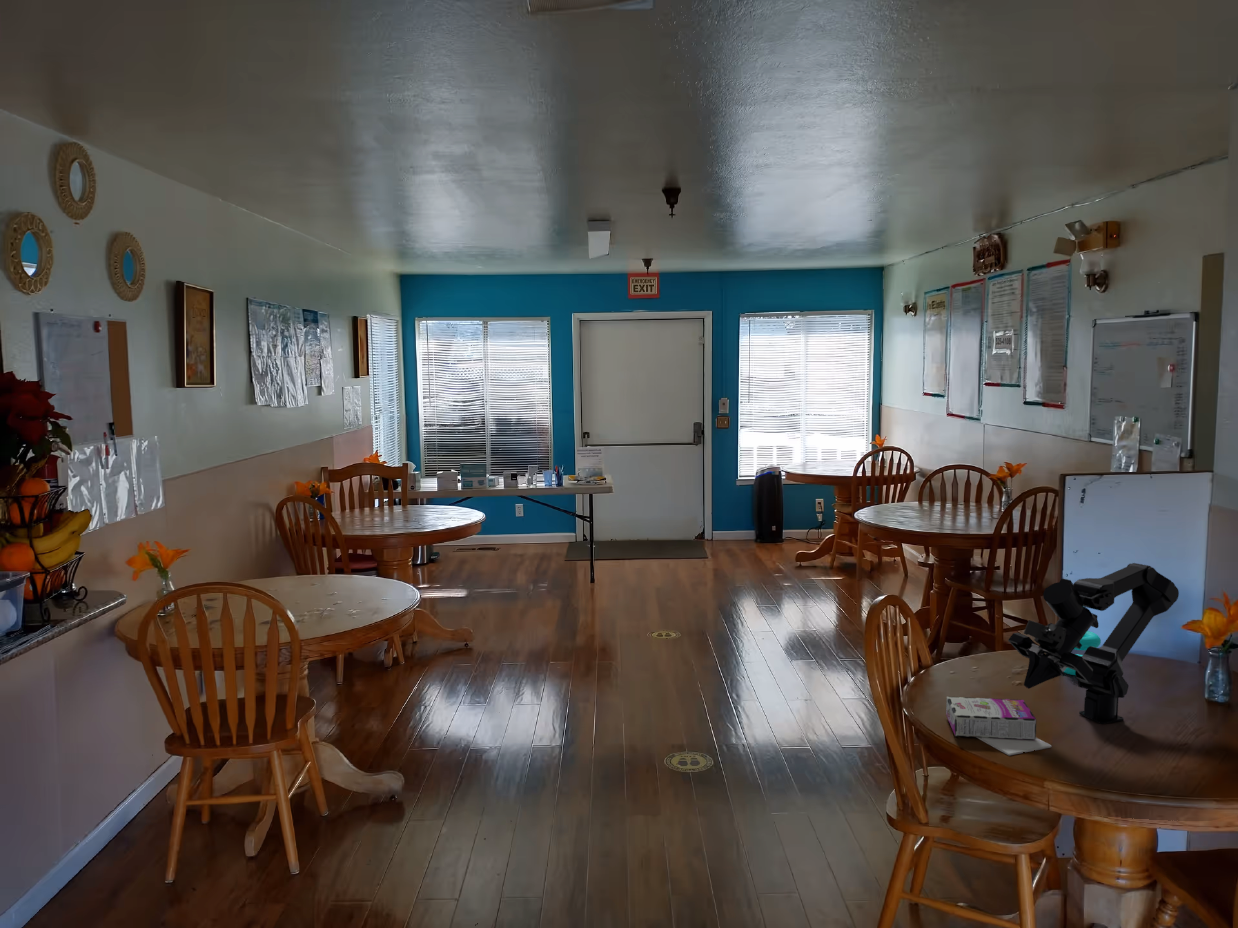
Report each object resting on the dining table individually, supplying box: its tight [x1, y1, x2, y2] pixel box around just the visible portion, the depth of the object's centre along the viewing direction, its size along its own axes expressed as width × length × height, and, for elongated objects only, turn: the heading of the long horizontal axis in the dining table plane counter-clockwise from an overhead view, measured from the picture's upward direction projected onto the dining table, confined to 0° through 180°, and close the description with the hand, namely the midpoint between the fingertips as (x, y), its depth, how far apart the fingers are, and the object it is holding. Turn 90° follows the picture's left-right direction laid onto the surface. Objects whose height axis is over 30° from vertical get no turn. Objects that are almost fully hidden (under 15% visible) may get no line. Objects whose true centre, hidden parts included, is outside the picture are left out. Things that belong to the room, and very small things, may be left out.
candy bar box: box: [945, 696, 1037, 740], centre depth 195 cm, size 11×5×16 cm
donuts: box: [1064, 630, 1102, 677], centre depth 230 cm, size 10×10×10 cm
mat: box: [975, 737, 1052, 756], centre depth 191 cm, size 11×12×1 cm
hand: (1026, 686), depth 191 cm, fingers closed
